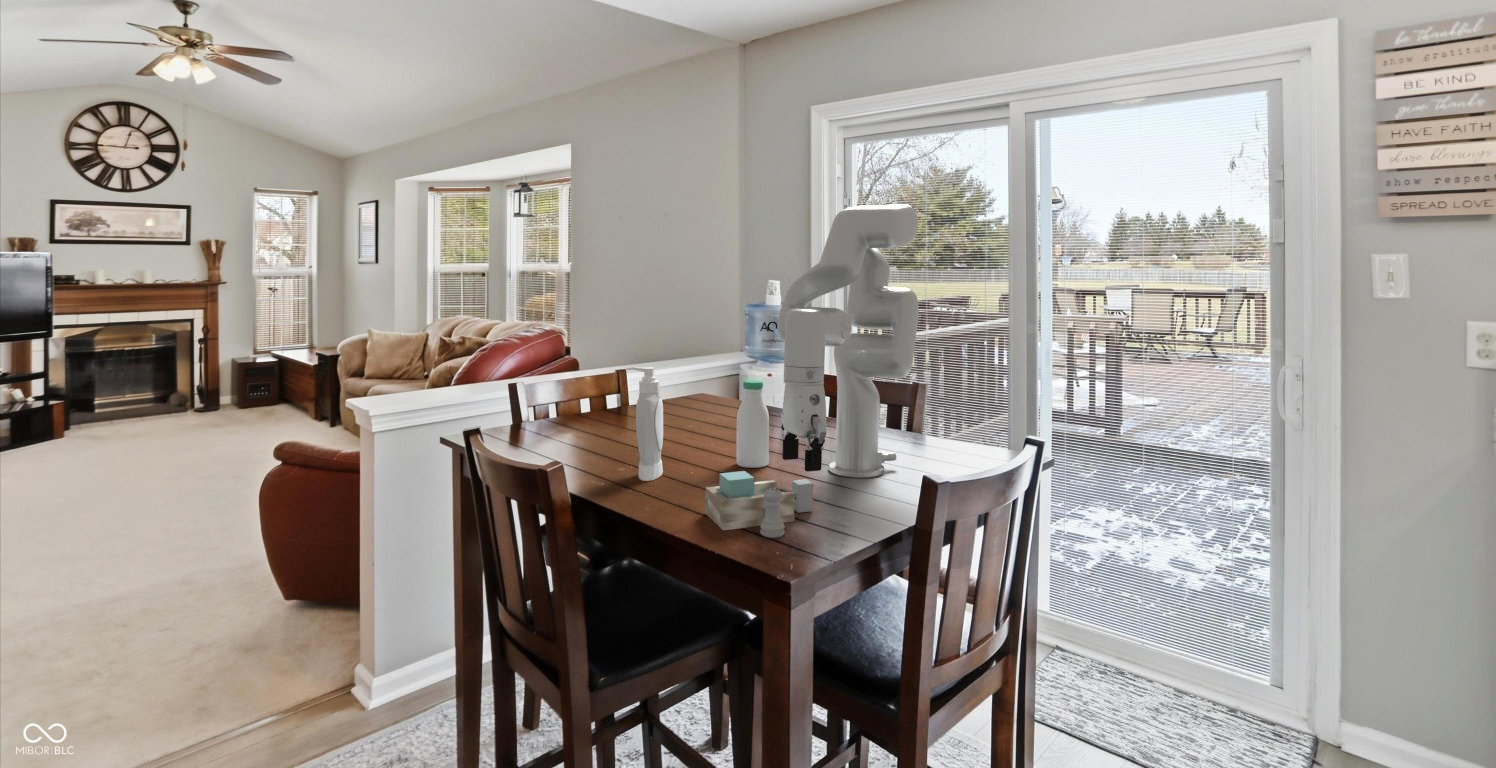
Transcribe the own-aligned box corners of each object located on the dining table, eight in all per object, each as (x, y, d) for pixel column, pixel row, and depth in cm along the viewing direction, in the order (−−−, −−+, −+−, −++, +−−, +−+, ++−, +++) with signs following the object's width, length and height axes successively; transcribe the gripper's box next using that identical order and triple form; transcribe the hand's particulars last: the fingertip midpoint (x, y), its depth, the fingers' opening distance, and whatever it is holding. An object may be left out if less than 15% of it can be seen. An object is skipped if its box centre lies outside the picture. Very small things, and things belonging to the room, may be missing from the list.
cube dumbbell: (803, 504, 149) (804, 464, 148) (814, 512, 145) (815, 471, 144) (719, 515, 143) (719, 473, 142) (728, 523, 138) (728, 480, 137)
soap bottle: (635, 466, 177) (633, 363, 174) (668, 468, 177) (667, 363, 173) (620, 482, 165) (618, 371, 161) (655, 483, 164) (654, 371, 160)
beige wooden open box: (772, 505, 150) (772, 479, 149) (794, 520, 141) (794, 493, 140) (705, 513, 145) (705, 487, 144) (723, 530, 135) (723, 502, 135)
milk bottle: (769, 468, 176) (769, 383, 173) (735, 468, 176) (736, 383, 173) (768, 460, 184) (769, 378, 181) (736, 460, 184) (737, 378, 181)
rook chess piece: (768, 527, 137) (769, 485, 136) (789, 532, 134) (790, 489, 133) (754, 535, 133) (755, 491, 132) (776, 540, 131) (776, 495, 130)
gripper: (844, 380, 136) (840, 474, 138) (801, 369, 152) (799, 454, 154) (806, 381, 133) (803, 477, 135) (767, 370, 149) (765, 456, 151)
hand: (801, 464), depth 144 cm, fingers open, 9 cm apart
